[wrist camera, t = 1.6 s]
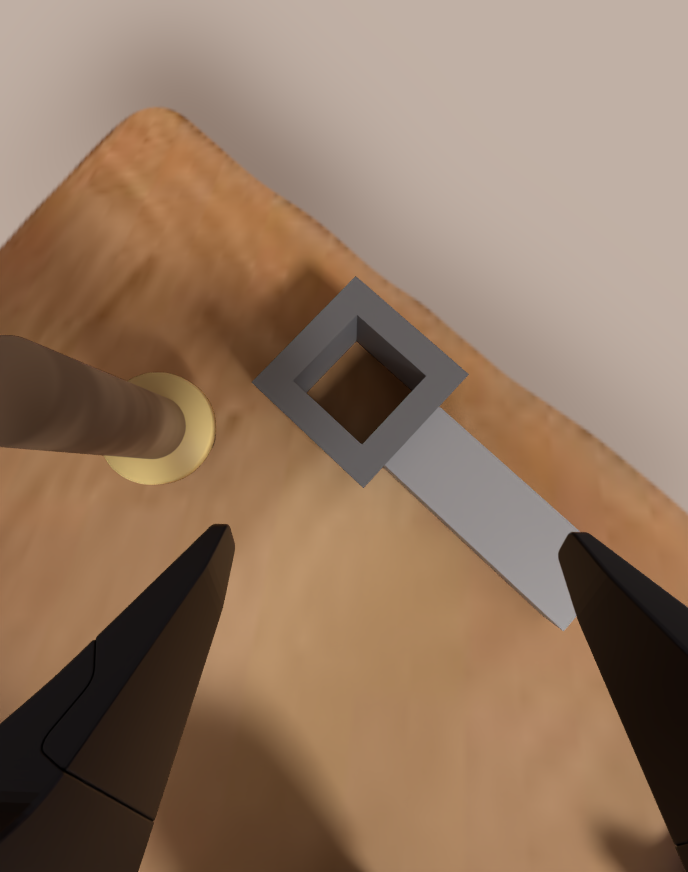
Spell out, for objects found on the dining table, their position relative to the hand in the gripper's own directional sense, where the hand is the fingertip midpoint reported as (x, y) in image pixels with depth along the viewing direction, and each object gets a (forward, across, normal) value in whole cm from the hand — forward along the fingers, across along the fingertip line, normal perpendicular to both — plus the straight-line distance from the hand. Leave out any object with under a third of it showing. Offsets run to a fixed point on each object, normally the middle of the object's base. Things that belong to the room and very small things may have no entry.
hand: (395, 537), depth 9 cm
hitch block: (+12, -4, +7) cm, 15 cm away
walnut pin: (+13, +12, +6) cm, 19 cm away
